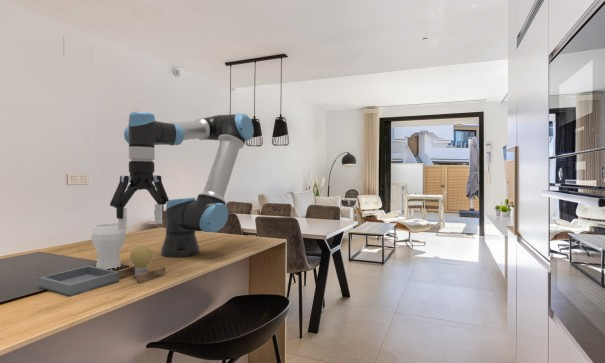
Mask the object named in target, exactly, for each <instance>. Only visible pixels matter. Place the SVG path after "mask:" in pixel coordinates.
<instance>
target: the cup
mask: <svg viewBox="0 0 605 363" xmlns="http://www.w3.org/2000/svg"><path fill="white" fill-rule="evenodd" d="M91 230H92V231H91V234H90V237H91V238H90V239H91V242H92V245H93V247H94V249H95V250H96V255H97V260H96V265H95V267H98V268H103V269H110V270H112V269H111V268H115V269H118V268H117V267H119V268H120V267H121V266H122V265H121V264H122V263H121V258H120V257H121V256H120V253H121V248H122V247H123V245H124V243H125V241H126V236H127V235H126V230H122V229H118V222H110V223H109V222H107V223H99V224H94V225H93V226H92V229H91Z"/></svg>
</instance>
